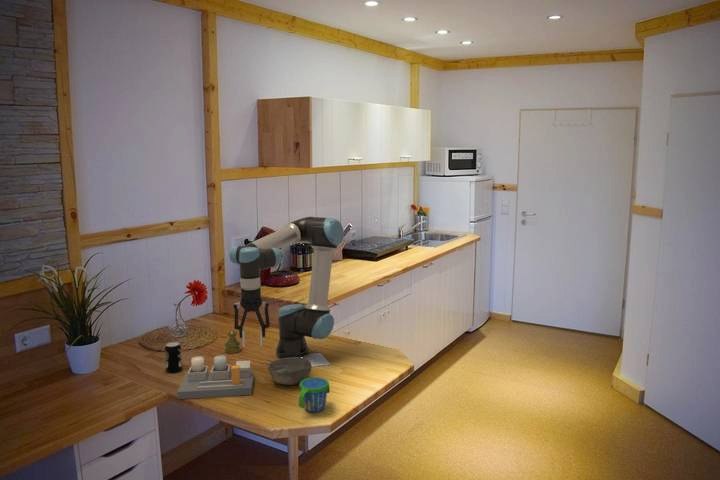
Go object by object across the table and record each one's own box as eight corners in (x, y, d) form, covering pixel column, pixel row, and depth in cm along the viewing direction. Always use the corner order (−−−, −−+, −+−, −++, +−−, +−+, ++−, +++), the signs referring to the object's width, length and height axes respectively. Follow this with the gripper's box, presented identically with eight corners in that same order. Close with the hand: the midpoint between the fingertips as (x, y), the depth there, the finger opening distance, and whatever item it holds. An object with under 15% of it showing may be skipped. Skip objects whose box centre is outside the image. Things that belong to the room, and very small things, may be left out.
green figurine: (243, 351, 271) (242, 331, 269) (228, 354, 267) (227, 334, 265) (237, 347, 277) (236, 327, 275) (222, 350, 273) (221, 330, 271)
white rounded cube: (204, 367, 235) (204, 356, 234) (203, 372, 230) (202, 360, 230) (192, 368, 235) (192, 356, 234) (190, 372, 230) (190, 361, 229)
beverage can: (177, 373, 245) (175, 347, 243) (163, 372, 246) (161, 346, 244) (185, 368, 251) (183, 341, 249) (171, 367, 252) (169, 341, 250)
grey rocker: (250, 363, 237) (250, 360, 237) (249, 370, 233) (249, 367, 232) (236, 364, 237) (236, 361, 236) (235, 371, 232) (235, 368, 232)
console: (254, 376, 241) (253, 362, 240) (251, 395, 223) (250, 379, 222) (185, 380, 238) (185, 365, 237) (177, 399, 220) (176, 383, 219)
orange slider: (240, 382, 228) (239, 365, 226) (239, 385, 225) (239, 368, 224) (232, 382, 227) (232, 365, 226) (232, 385, 224) (231, 368, 223)
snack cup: (309, 420, 202) (309, 393, 200) (289, 412, 209) (288, 385, 207) (339, 405, 214) (339, 379, 212) (319, 397, 221) (318, 372, 219)
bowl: (294, 370, 248) (293, 352, 247) (320, 381, 236) (320, 363, 234) (259, 382, 236) (259, 363, 234) (285, 394, 223) (285, 375, 222)
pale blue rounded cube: (227, 366, 236) (226, 354, 235) (226, 371, 231) (225, 359, 231) (215, 367, 236) (214, 355, 235) (213, 371, 231) (213, 359, 230)
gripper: (275, 284, 225) (277, 340, 229) (226, 286, 223) (229, 343, 227) (275, 289, 218) (277, 347, 222) (224, 291, 216) (227, 349, 219)
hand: (252, 345), depth 224 cm, fingers open, 6 cm apart
